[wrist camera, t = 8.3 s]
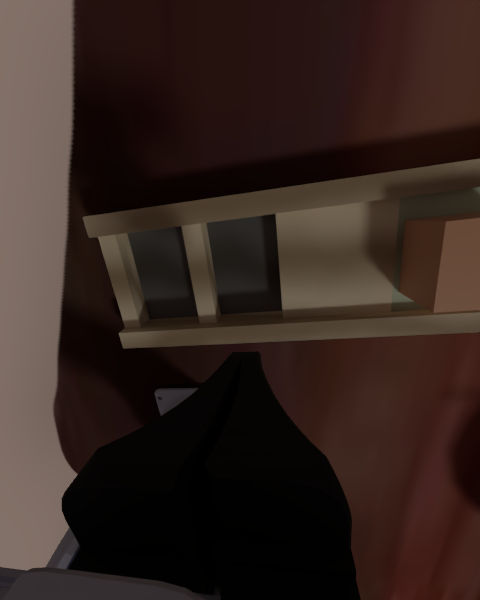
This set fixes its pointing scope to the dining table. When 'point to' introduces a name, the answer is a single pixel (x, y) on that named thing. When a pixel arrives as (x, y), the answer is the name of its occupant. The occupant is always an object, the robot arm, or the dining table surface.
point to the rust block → (442, 262)
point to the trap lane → (281, 261)
